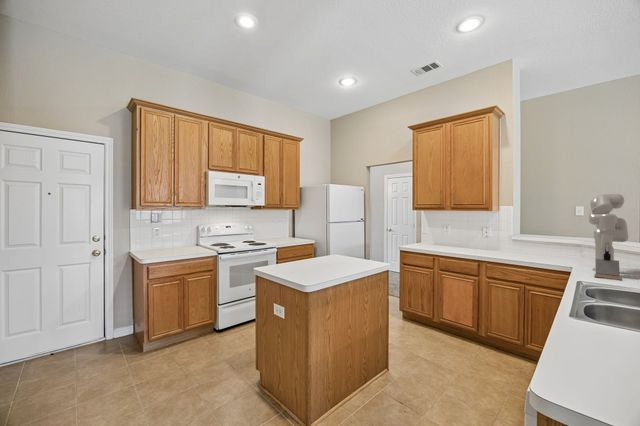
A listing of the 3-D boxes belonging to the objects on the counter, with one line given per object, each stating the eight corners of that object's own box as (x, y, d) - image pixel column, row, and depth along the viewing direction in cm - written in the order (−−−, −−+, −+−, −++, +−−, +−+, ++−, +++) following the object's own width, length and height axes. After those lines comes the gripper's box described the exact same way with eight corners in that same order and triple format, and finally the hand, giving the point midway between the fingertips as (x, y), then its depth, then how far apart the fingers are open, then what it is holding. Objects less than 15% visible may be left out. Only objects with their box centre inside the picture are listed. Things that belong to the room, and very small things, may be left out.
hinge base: (594, 276, 190) (594, 273, 190) (620, 278, 182) (620, 276, 182) (594, 278, 181) (594, 276, 181) (621, 282, 172) (621, 279, 172)
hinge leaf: (595, 259, 194) (595, 258, 193) (618, 261, 186) (619, 260, 185) (595, 276, 189) (595, 275, 188) (619, 279, 181) (619, 278, 181)
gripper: (599, 231, 198) (599, 258, 197) (599, 232, 187) (599, 260, 187) (614, 232, 192) (614, 259, 192) (615, 233, 182) (615, 261, 182)
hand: (607, 259), depth 190 cm, fingers closed
